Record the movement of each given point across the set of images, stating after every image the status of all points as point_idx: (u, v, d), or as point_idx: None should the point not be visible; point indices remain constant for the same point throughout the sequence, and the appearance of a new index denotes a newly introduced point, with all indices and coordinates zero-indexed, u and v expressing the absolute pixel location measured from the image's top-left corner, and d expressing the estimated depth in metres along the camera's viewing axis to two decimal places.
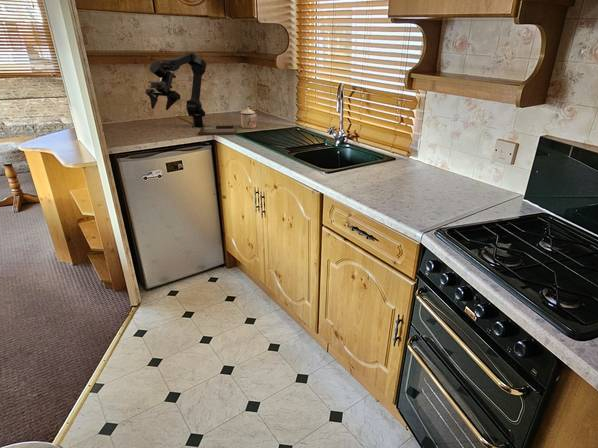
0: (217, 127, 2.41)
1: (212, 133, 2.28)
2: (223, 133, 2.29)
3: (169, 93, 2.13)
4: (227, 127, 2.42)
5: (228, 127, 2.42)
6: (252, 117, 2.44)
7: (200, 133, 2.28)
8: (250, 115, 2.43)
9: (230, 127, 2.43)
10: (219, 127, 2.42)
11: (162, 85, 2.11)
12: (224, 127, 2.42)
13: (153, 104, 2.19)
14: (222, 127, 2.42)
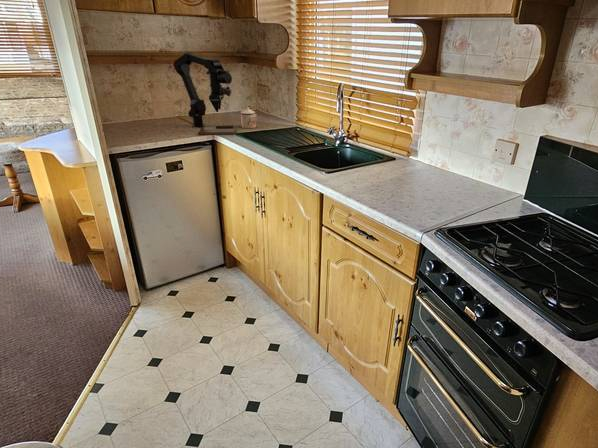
0: (217, 127, 2.41)
1: (212, 133, 2.28)
2: (223, 133, 2.29)
3: (223, 95, 2.41)
4: (227, 127, 2.42)
5: (228, 127, 2.42)
6: (252, 117, 2.44)
7: (200, 133, 2.28)
8: (250, 115, 2.43)
9: (230, 127, 2.43)
10: (219, 127, 2.42)
11: None
12: (224, 127, 2.42)
13: None
14: (222, 127, 2.42)
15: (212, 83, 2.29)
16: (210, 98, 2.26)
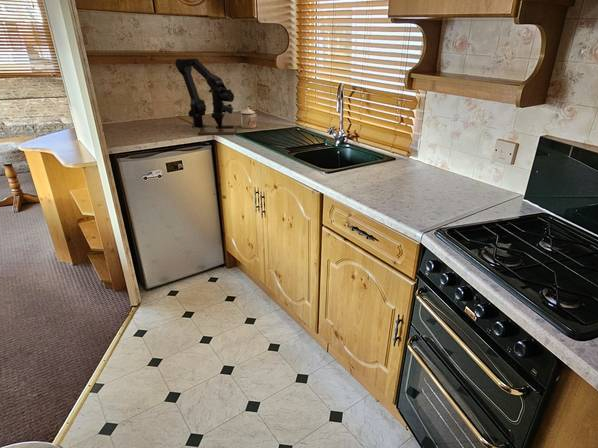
0: (217, 127, 2.41)
1: (212, 133, 2.28)
2: (223, 133, 2.29)
3: (225, 111, 2.46)
4: (227, 127, 2.42)
5: (228, 127, 2.42)
6: (252, 117, 2.44)
7: (200, 133, 2.28)
8: (250, 115, 2.43)
9: (230, 127, 2.43)
10: None
11: None
12: (224, 127, 2.42)
13: None
14: (222, 127, 2.42)
15: (214, 101, 2.34)
16: (213, 116, 2.31)
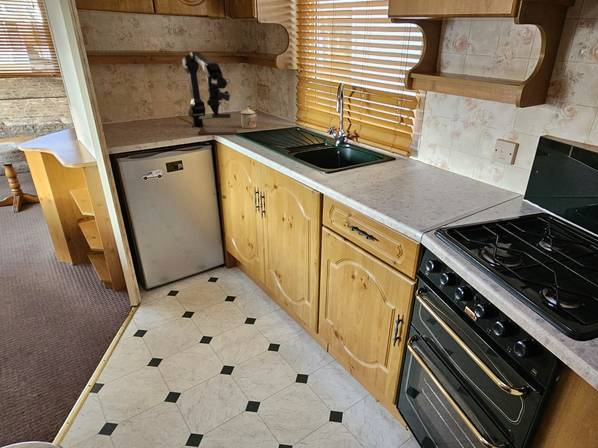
0: (213, 115, 2.28)
1: (212, 133, 2.28)
2: (223, 133, 2.29)
3: None
4: (224, 115, 2.29)
5: (225, 115, 2.29)
6: (252, 117, 2.44)
7: (200, 133, 2.28)
8: (250, 115, 2.43)
9: (227, 115, 2.29)
10: None
11: None
12: (221, 115, 2.28)
13: None
14: (218, 115, 2.28)
15: (210, 87, 2.20)
16: (208, 103, 2.17)
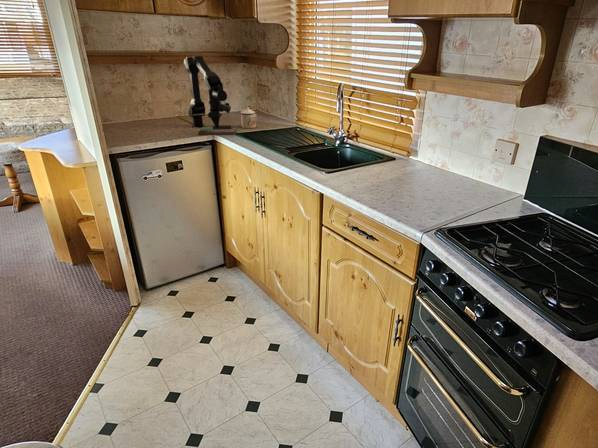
0: (214, 127, 2.29)
1: (212, 133, 2.28)
2: (223, 133, 2.29)
3: (222, 111, 2.34)
4: (224, 127, 2.30)
5: (226, 127, 2.30)
6: (252, 117, 2.44)
7: (200, 133, 2.28)
8: (250, 115, 2.43)
9: (228, 127, 2.30)
10: None
11: None
12: (221, 127, 2.30)
13: None
14: (219, 127, 2.30)
15: (211, 100, 2.21)
16: (209, 115, 2.18)
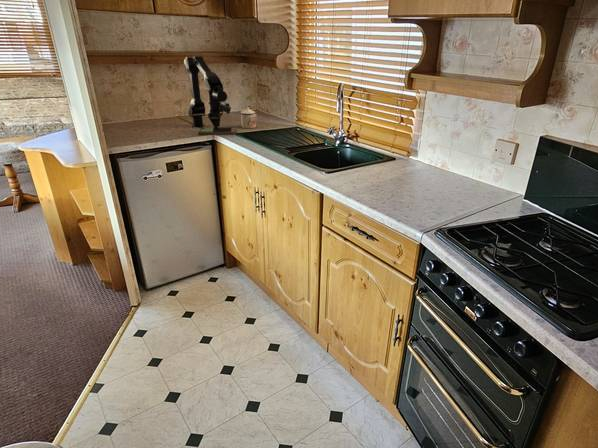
0: (214, 129, 2.30)
1: (212, 133, 2.28)
2: (223, 133, 2.29)
3: (222, 111, 2.34)
4: (225, 129, 2.31)
5: (226, 129, 2.31)
6: (252, 117, 2.44)
7: (200, 133, 2.28)
8: (250, 115, 2.43)
9: (228, 129, 2.31)
10: None
11: None
12: (222, 129, 2.30)
13: None
14: (219, 129, 2.30)
15: (211, 100, 2.22)
16: (209, 116, 2.18)
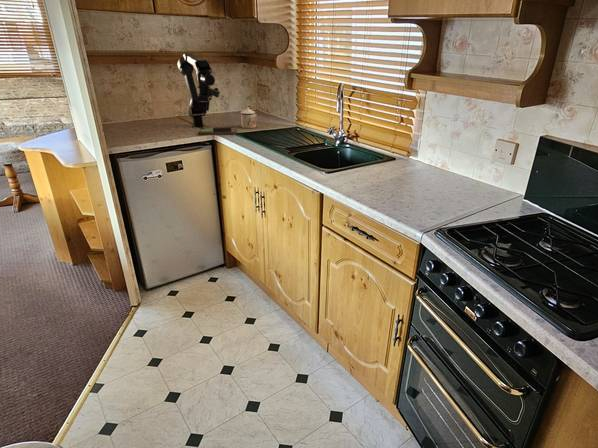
0: (214, 129, 2.30)
1: (212, 133, 2.28)
2: (223, 133, 2.29)
3: (212, 96, 2.37)
4: (225, 129, 2.31)
5: (226, 129, 2.31)
6: (252, 117, 2.44)
7: (200, 133, 2.28)
8: (250, 115, 2.43)
9: (228, 129, 2.31)
10: (216, 129, 2.30)
11: None
12: (222, 129, 2.30)
13: None
14: (219, 129, 2.30)
15: (200, 84, 2.25)
16: (198, 99, 2.22)
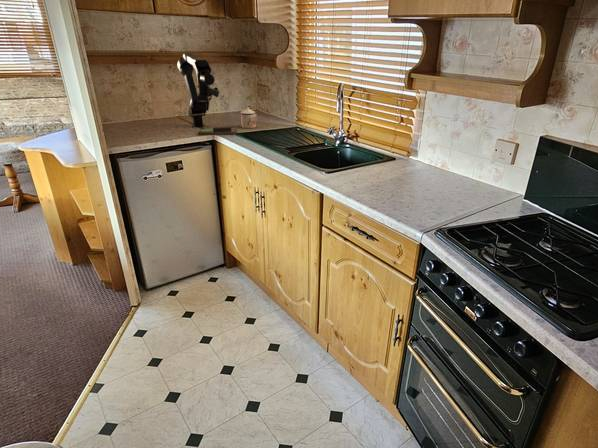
0: (214, 129, 2.30)
1: (212, 133, 2.28)
2: (223, 133, 2.29)
3: (211, 95, 2.37)
4: (225, 129, 2.31)
5: (226, 129, 2.31)
6: (252, 117, 2.44)
7: (200, 133, 2.28)
8: (250, 115, 2.43)
9: (228, 129, 2.31)
10: (216, 129, 2.30)
11: None
12: (222, 129, 2.30)
13: None
14: (219, 129, 2.30)
15: (200, 84, 2.25)
16: (198, 99, 2.22)
